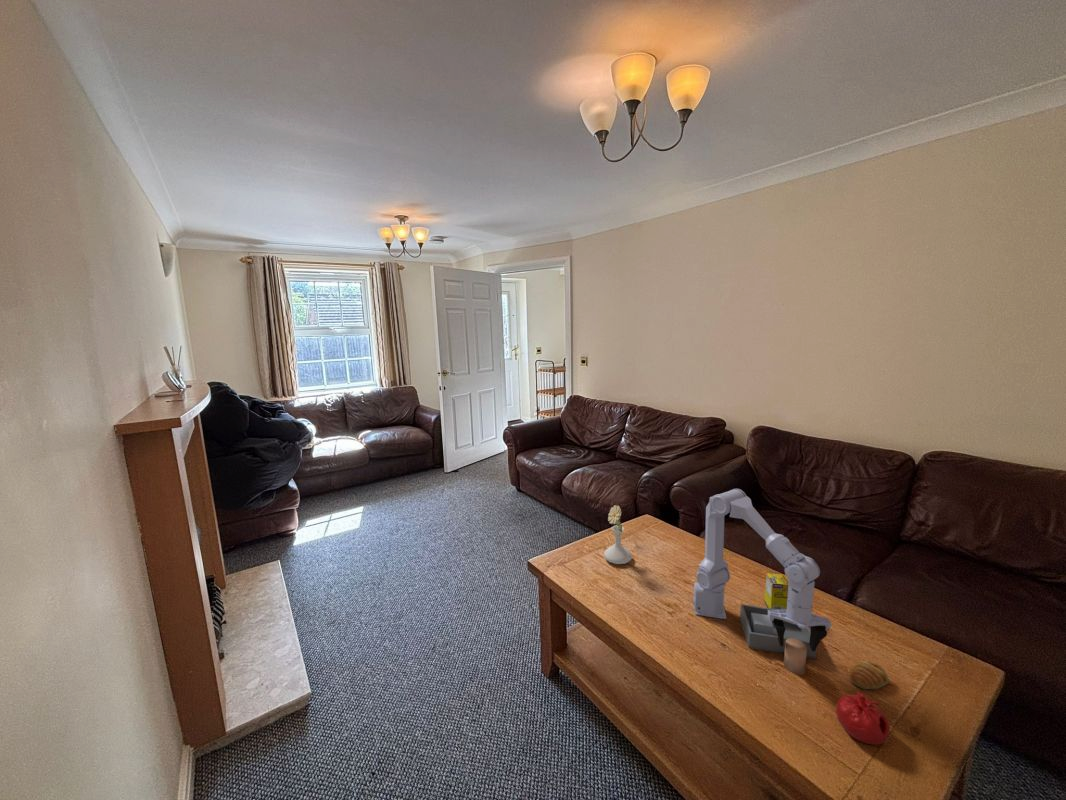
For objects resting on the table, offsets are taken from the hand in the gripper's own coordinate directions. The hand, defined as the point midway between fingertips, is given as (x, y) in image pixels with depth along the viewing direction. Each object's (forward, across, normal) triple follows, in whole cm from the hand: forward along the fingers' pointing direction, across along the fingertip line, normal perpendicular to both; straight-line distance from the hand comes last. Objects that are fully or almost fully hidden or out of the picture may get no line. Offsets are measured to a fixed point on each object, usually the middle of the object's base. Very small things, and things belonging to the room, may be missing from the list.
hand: (796, 646), depth 113 cm
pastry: (+7, +18, 0) cm, 19 cm away
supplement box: (+7, +2, +26) cm, 27 cm away
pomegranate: (+7, +9, -16) cm, 20 cm away
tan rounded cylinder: (+7, 0, 0) cm, 7 cm away
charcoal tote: (+7, -2, +11) cm, 13 cm away
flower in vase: (+7, -52, +43) cm, 68 cm away
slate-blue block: (+6, -6, +11) cm, 14 cm away
